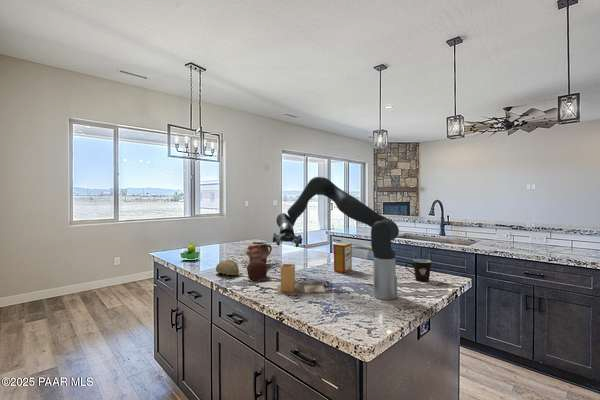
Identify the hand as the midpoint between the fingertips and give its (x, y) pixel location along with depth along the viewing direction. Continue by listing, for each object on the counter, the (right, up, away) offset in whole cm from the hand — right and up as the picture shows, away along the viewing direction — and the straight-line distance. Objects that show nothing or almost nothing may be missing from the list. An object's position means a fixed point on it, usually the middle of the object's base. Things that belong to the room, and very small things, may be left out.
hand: (287, 244), depth 143 cm
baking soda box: (+31, -20, +35) cm, 51 cm away
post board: (+6, -21, -3) cm, 22 cm away
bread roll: (-35, -21, +29) cm, 50 cm away
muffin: (-17, -21, +18) cm, 32 cm away
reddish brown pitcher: (-20, -20, +53) cm, 60 cm away
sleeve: (0, -20, -4) cm, 20 cm away
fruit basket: (-70, -21, +68) cm, 99 cm away
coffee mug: (+67, -20, +15) cm, 72 cm away
